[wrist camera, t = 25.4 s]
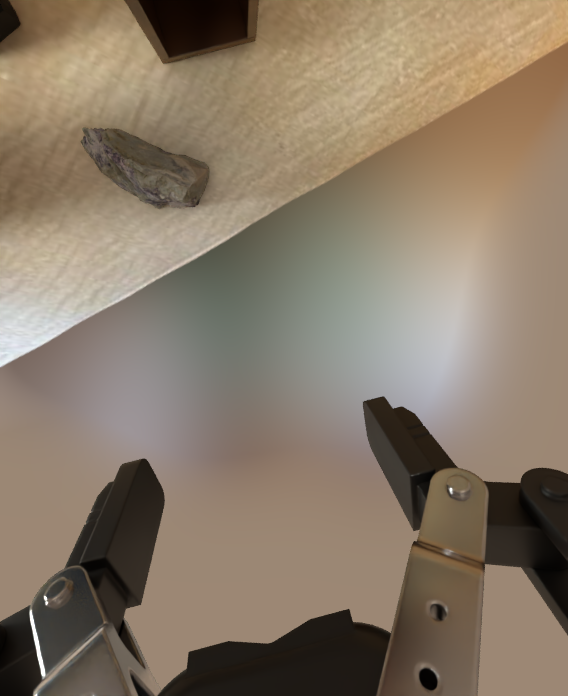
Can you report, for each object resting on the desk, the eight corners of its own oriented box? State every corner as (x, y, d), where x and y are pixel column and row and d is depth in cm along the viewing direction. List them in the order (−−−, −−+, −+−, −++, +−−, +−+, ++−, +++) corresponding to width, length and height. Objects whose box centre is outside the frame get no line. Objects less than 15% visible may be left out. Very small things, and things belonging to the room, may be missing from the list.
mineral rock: (84, 146, 41) (40, 133, 32) (150, 85, 40) (122, 53, 30) (161, 235, 46) (141, 245, 37) (221, 185, 45) (216, 183, 36)
